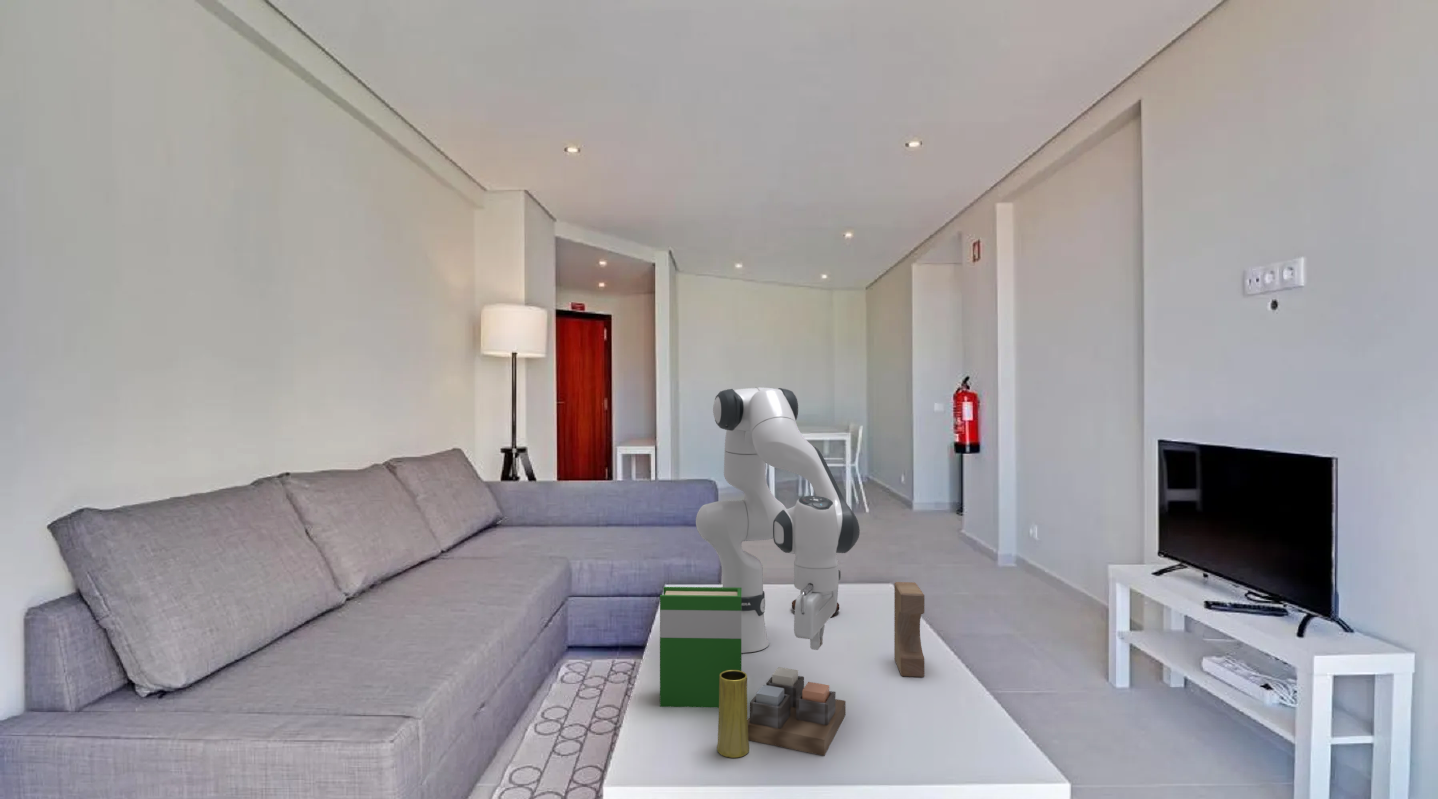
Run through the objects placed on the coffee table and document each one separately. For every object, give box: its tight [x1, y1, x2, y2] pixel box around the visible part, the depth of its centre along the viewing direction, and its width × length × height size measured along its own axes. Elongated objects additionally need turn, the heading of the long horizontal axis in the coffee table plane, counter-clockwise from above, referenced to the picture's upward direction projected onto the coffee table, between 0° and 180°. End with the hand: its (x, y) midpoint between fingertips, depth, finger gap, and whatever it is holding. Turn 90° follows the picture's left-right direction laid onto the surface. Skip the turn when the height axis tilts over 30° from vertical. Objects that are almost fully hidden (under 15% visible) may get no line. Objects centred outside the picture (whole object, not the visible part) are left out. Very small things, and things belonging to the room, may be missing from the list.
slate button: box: [755, 684, 784, 706], centre depth 137 cm, size 4×4×3 cm
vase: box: [716, 670, 750, 759], centre depth 131 cm, size 6×6×14 cm
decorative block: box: [893, 581, 925, 678], centre depth 170 cm, size 11×6×20 cm, turn 173°
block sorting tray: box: [747, 675, 847, 757], centre depth 140 cm, size 16×18×7 cm
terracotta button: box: [802, 681, 830, 703], centre depth 138 cm, size 4×4×3 cm
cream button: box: [771, 666, 799, 687], centre depth 146 cm, size 4×4×3 cm
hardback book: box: [659, 586, 742, 709], centre depth 152 cm, size 18×7×24 cm, turn 88°
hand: (816, 647), depth 138 cm, fingers closed
